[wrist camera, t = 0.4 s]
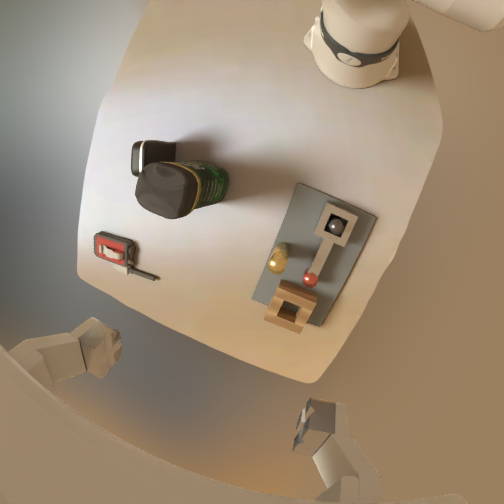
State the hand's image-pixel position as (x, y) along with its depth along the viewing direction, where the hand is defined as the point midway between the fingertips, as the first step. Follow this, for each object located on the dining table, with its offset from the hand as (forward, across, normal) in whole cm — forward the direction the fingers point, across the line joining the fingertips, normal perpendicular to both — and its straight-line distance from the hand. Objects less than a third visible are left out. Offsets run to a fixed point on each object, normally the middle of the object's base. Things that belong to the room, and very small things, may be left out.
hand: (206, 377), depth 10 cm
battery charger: (+45, +28, -4) cm, 53 cm away
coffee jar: (+45, +18, -1) cm, 48 cm away
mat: (+44, -6, +10) cm, 46 cm away
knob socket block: (+44, -7, +6) cm, 45 cm away
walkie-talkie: (+45, +37, +21) cm, 62 cm away
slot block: (+44, -4, +20) cm, 48 cm away
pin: (+44, 0, +9) cm, 45 cm away
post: (+44, -8, +1) cm, 45 cm away
